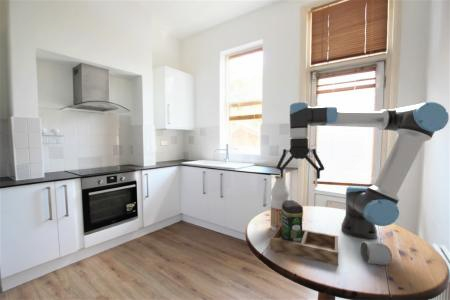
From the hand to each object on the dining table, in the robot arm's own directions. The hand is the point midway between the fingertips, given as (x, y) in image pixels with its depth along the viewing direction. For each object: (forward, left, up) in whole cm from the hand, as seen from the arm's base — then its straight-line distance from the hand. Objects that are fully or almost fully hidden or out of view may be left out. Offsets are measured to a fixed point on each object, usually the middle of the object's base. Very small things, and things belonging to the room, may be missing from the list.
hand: (299, 185), depth 97 cm
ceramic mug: (-28, +3, -26) cm, 38 cm away
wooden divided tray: (-3, +6, -26) cm, 27 cm away
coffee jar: (+2, +5, -25) cm, 26 cm away
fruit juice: (+11, -9, -26) cm, 30 cm away
